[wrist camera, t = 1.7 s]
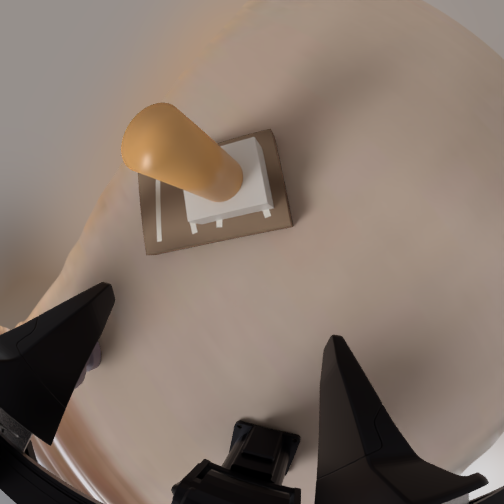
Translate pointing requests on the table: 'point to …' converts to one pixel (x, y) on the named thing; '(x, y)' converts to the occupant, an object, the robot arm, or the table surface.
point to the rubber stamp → (197, 164)
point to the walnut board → (192, 234)
